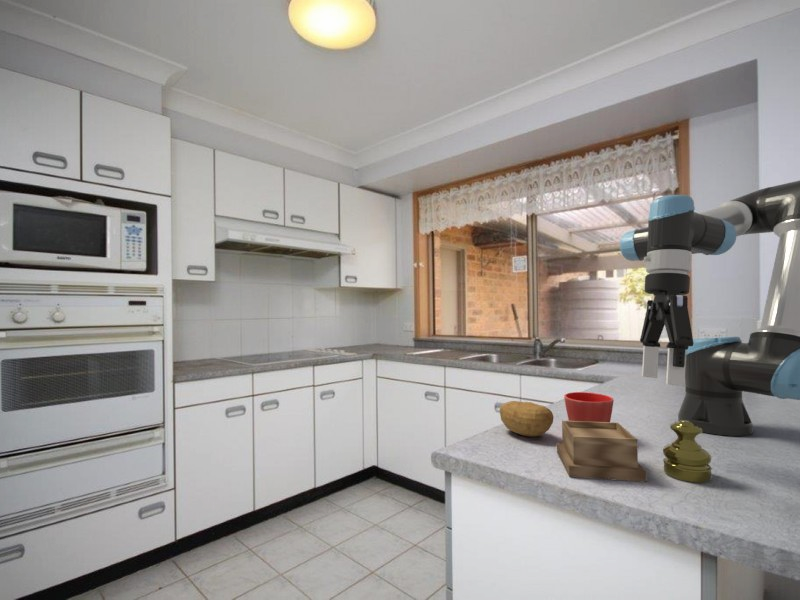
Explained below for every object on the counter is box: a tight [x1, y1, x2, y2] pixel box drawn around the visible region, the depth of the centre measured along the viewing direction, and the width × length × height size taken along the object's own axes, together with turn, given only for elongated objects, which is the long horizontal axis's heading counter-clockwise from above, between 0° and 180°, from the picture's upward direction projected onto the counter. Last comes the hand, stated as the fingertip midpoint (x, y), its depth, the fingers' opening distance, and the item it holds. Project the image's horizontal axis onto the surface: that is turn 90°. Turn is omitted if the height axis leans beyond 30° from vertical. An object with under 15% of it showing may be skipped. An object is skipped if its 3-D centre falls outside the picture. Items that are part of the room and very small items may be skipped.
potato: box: [499, 400, 554, 438], centre depth 101 cm, size 10×14×8 cm
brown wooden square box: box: [556, 419, 647, 482], centre depth 81 cm, size 13×13×7 cm
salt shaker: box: [662, 420, 713, 484], centre depth 76 cm, size 7×7×10 cm
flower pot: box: [563, 391, 614, 422], centre depth 99 cm, size 11×11×10 cm
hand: (661, 381), depth 81 cm, fingers open, 13 cm apart
